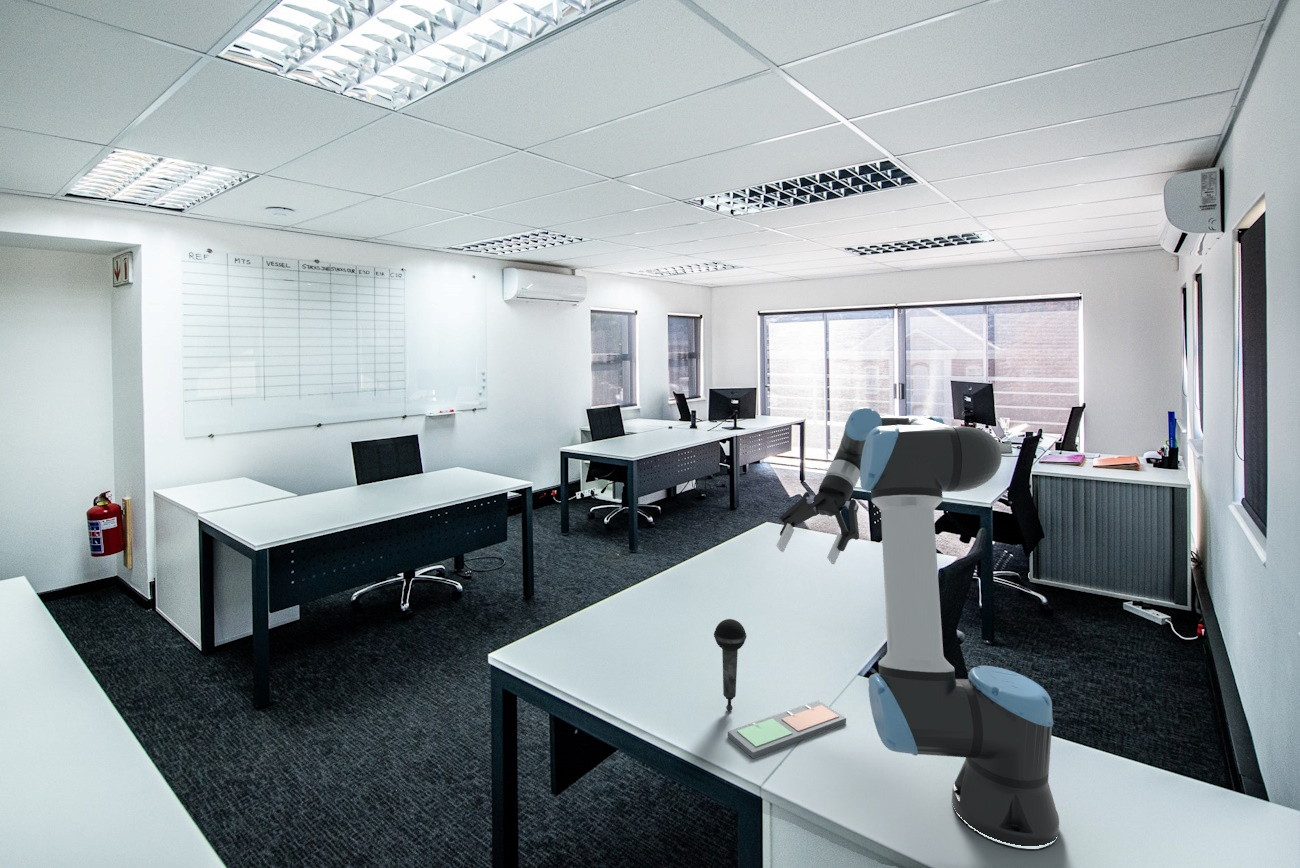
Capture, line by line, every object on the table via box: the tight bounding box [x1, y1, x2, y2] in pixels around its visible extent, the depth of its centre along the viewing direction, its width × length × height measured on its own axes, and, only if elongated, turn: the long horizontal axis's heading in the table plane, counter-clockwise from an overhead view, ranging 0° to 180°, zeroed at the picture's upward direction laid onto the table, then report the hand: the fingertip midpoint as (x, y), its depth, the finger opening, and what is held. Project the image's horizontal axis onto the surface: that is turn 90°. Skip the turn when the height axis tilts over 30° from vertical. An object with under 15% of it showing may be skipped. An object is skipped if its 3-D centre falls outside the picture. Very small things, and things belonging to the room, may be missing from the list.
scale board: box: [727, 699, 847, 759], centre depth 127 cm, size 8×24×1 cm, turn 119°
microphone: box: [713, 618, 747, 712], centre depth 133 cm, size 7×7×20 cm
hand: (804, 554), depth 146 cm, fingers open, 13 cm apart
